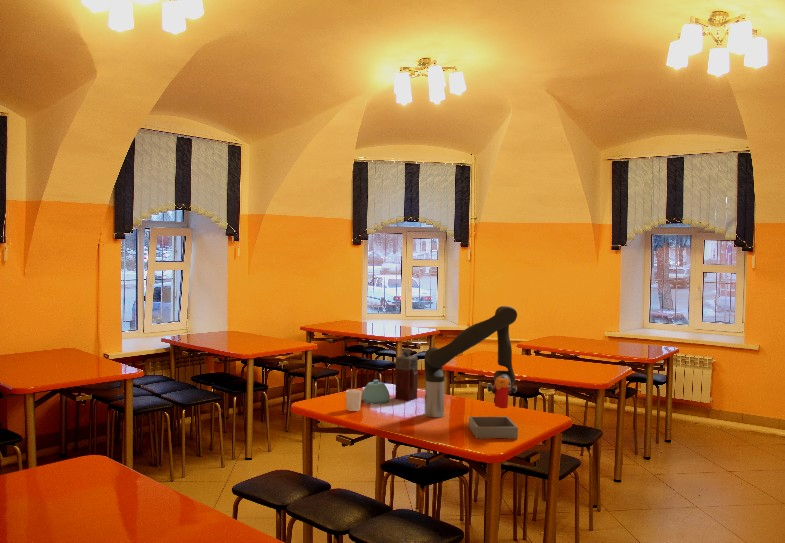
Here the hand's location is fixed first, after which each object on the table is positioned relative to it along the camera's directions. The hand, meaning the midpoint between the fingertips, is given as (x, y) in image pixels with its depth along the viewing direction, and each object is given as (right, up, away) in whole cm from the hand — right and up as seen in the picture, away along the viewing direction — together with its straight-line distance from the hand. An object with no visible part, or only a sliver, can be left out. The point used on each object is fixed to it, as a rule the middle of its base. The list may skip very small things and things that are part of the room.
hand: (500, 392), depth 280 cm
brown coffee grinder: (-41, -16, +61) cm, 75 cm away
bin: (-4, -18, -3) cm, 19 cm away
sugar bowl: (-58, -16, +54) cm, 81 cm away
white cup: (-69, -16, +34) cm, 78 cm away
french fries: (0, -7, +2) cm, 7 cm away
